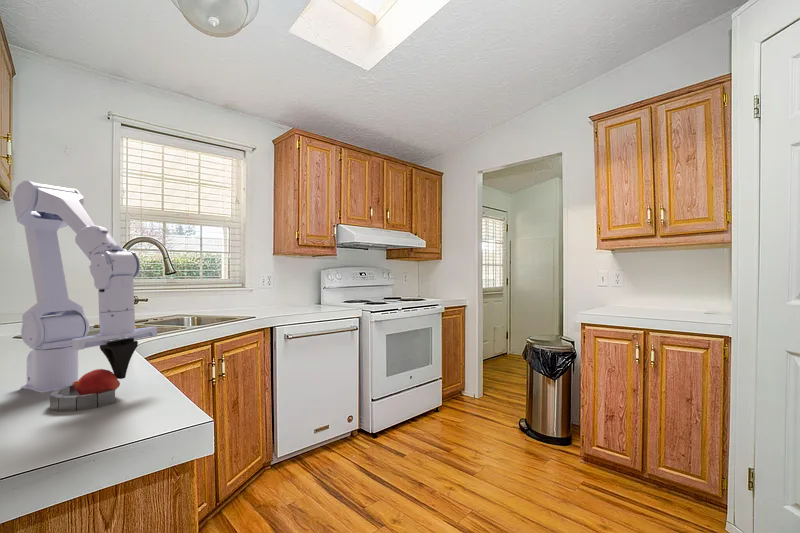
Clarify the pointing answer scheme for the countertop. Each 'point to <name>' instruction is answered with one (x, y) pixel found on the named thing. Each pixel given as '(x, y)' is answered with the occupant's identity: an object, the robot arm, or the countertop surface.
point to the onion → (96, 382)
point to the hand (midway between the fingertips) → (119, 378)
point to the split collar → (79, 399)
